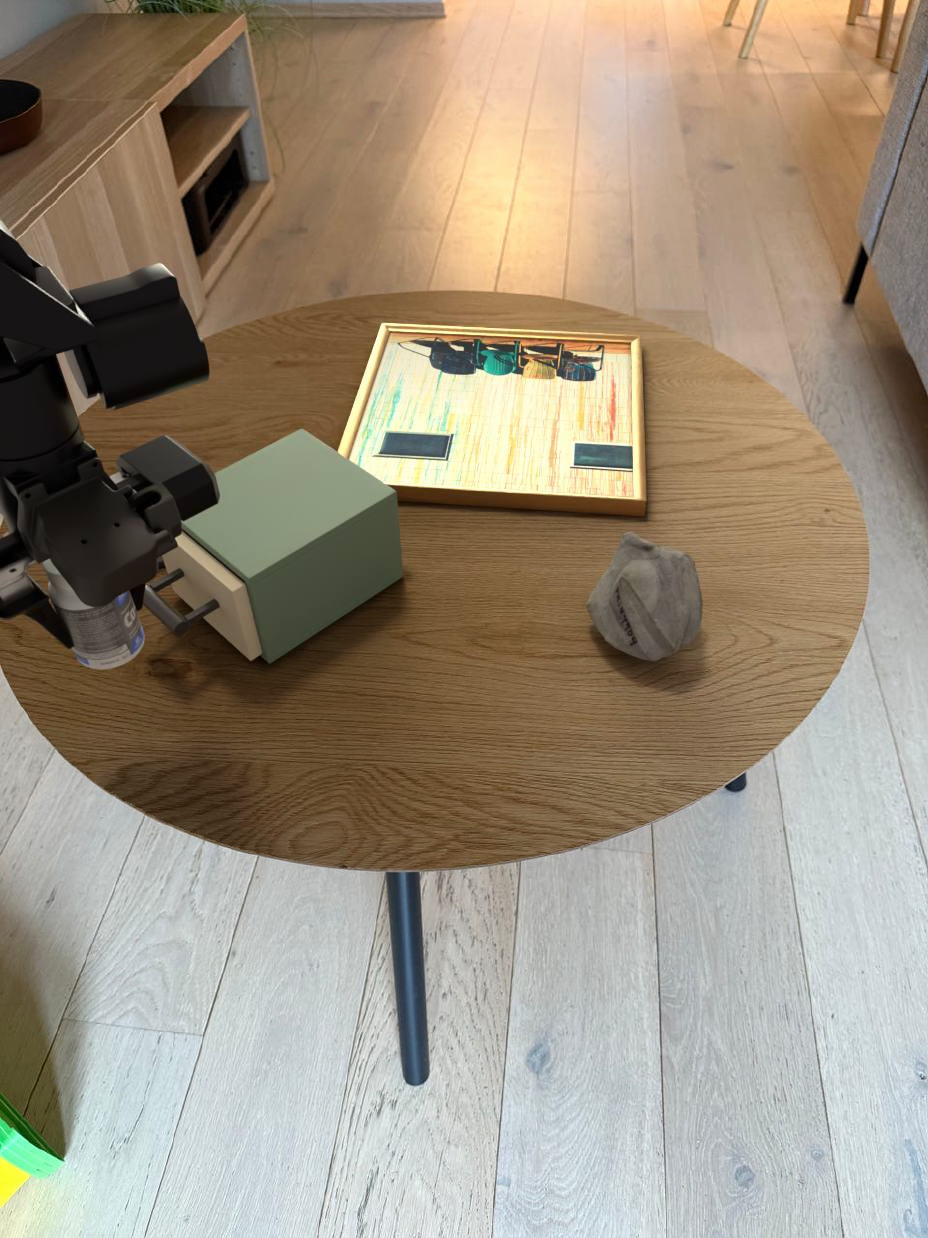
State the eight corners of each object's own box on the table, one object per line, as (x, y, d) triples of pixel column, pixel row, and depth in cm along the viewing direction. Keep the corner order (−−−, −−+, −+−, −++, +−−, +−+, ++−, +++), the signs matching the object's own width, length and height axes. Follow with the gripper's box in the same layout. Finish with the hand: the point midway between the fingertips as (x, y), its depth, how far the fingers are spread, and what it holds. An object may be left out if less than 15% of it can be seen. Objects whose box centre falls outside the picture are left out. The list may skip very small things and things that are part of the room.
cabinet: (269, 664, 77) (248, 578, 70) (184, 588, 83) (157, 502, 76) (403, 576, 84) (396, 490, 77) (315, 512, 90) (301, 427, 83)
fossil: (561, 602, 81) (568, 531, 75) (650, 570, 84) (662, 499, 78) (632, 692, 74) (645, 621, 68) (726, 654, 77) (747, 583, 71)
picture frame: (641, 334, 108) (646, 500, 88) (639, 349, 110) (644, 516, 89) (381, 322, 111) (327, 481, 90) (383, 337, 112) (329, 496, 92)
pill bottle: (153, 657, 64) (121, 566, 58) (82, 680, 63) (42, 589, 57) (137, 612, 67) (105, 521, 61) (69, 634, 66) (29, 543, 60)
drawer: (206, 690, 74) (183, 620, 68) (130, 615, 79) (103, 546, 74) (378, 578, 82) (371, 509, 76) (298, 519, 88) (286, 450, 82)
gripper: (-84, 582, 44) (27, 777, 55) (249, 423, 53) (286, 618, 64) (-171, 477, 49) (-54, 674, 61) (144, 349, 59) (195, 541, 70)
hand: (102, 625), depth 64 cm, fingers closed on pill bottle, 5 cm apart
